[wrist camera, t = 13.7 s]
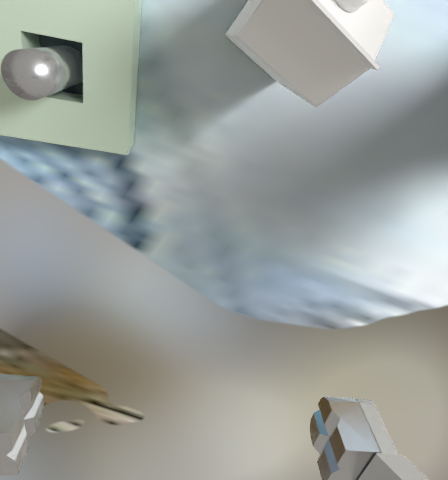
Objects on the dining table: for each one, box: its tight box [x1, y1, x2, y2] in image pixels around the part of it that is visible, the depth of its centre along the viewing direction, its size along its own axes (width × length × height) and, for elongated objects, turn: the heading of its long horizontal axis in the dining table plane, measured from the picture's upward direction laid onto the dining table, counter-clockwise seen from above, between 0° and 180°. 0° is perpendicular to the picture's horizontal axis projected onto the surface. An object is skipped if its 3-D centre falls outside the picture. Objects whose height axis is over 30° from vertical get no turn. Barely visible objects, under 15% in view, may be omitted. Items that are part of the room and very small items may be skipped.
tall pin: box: [1, 45, 83, 100], centre depth 32 cm, size 4×4×10 cm
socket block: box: [0, 0, 142, 155], centre depth 34 cm, size 14×14×4 cm
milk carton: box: [226, 0, 394, 107], centre depth 27 cm, size 7×7×19 cm
